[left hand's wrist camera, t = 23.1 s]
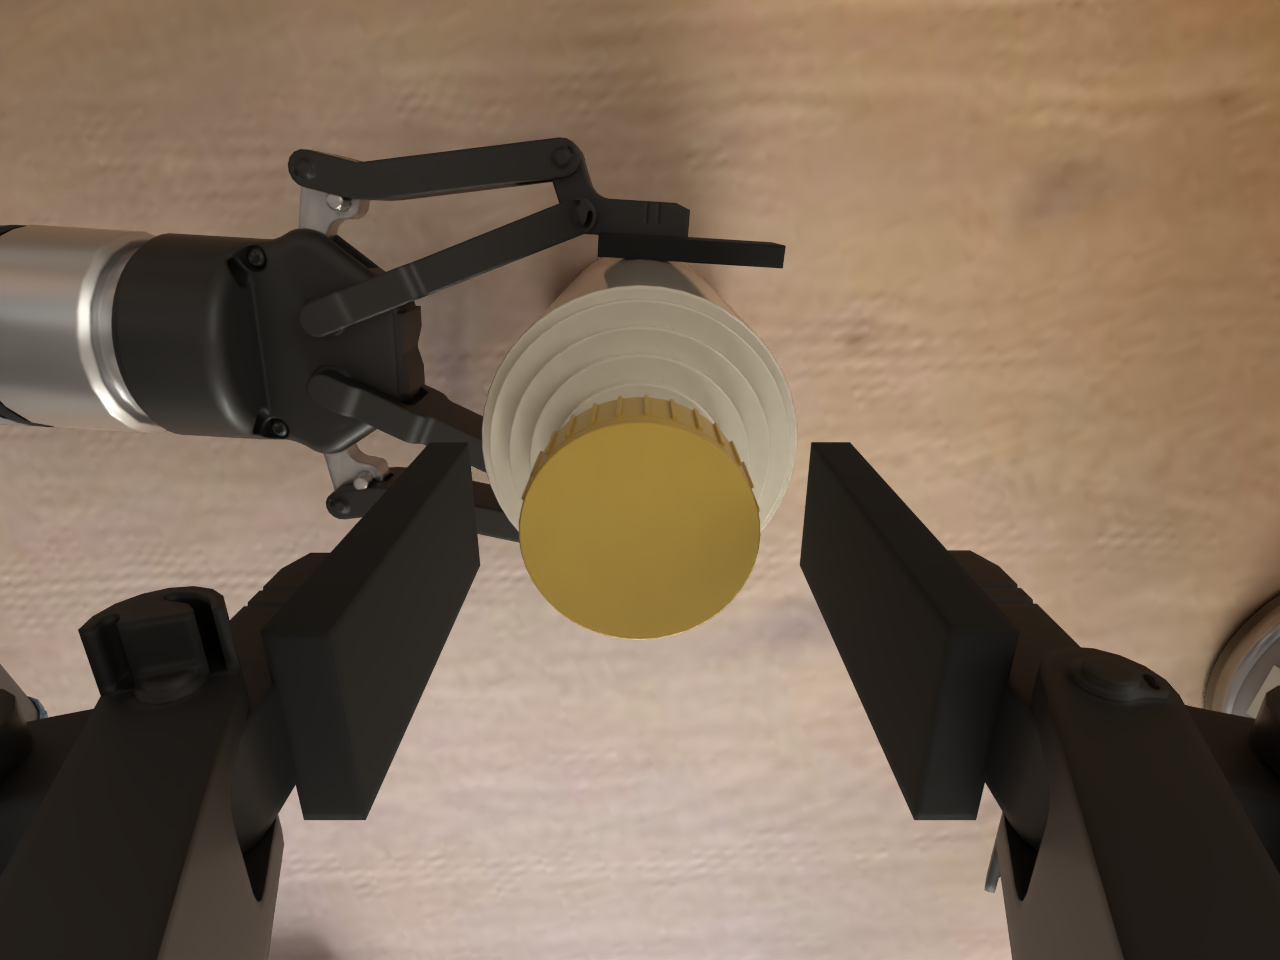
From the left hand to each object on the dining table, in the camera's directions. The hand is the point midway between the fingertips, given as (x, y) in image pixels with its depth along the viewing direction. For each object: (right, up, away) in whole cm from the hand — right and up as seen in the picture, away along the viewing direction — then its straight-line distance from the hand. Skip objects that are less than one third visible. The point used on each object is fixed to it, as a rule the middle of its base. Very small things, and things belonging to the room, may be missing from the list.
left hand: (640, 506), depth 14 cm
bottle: (0, +7, +19) cm, 20 cm away
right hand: (+5, +5, +13) cm, 15 cm away
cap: (0, 0, -1) cm, 1 cm away
